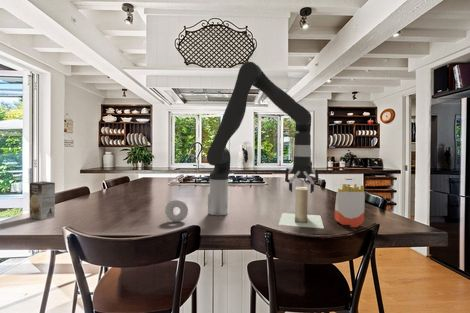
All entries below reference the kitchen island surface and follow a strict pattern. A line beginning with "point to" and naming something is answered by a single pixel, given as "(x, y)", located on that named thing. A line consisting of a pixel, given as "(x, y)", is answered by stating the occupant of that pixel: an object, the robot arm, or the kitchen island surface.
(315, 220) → the sage mat
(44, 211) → the coffee box
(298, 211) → the maple block
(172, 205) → the donut
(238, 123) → the robot arm
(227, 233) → the kitchen island surface
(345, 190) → the french fries container
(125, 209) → the kitchen island surface
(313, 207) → the kitchen island surface
